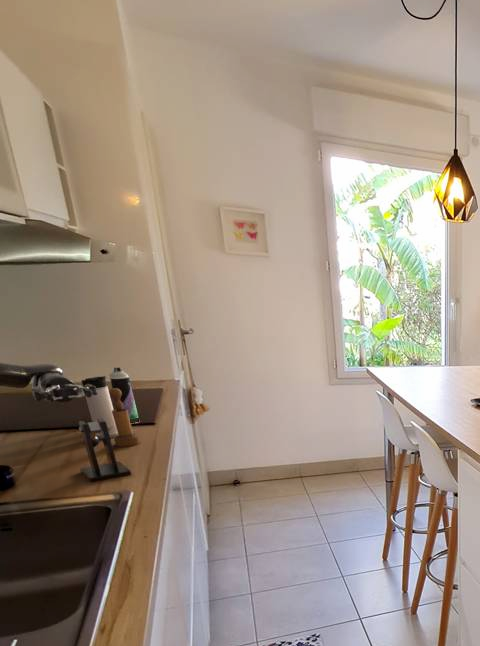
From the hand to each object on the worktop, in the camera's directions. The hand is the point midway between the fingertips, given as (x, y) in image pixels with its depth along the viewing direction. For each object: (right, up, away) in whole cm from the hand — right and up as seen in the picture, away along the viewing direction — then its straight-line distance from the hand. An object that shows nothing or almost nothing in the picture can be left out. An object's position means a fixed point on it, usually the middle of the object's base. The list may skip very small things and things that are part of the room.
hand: (70, 395), depth 157 cm
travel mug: (-10, -9, +27) cm, 30 cm away
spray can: (-15, -2, +43) cm, 46 cm away
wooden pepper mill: (+2, -12, +19) cm, 23 cm away
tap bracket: (+15, -23, -6) cm, 28 cm away
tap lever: (+12, -14, -7) cm, 20 cm away
